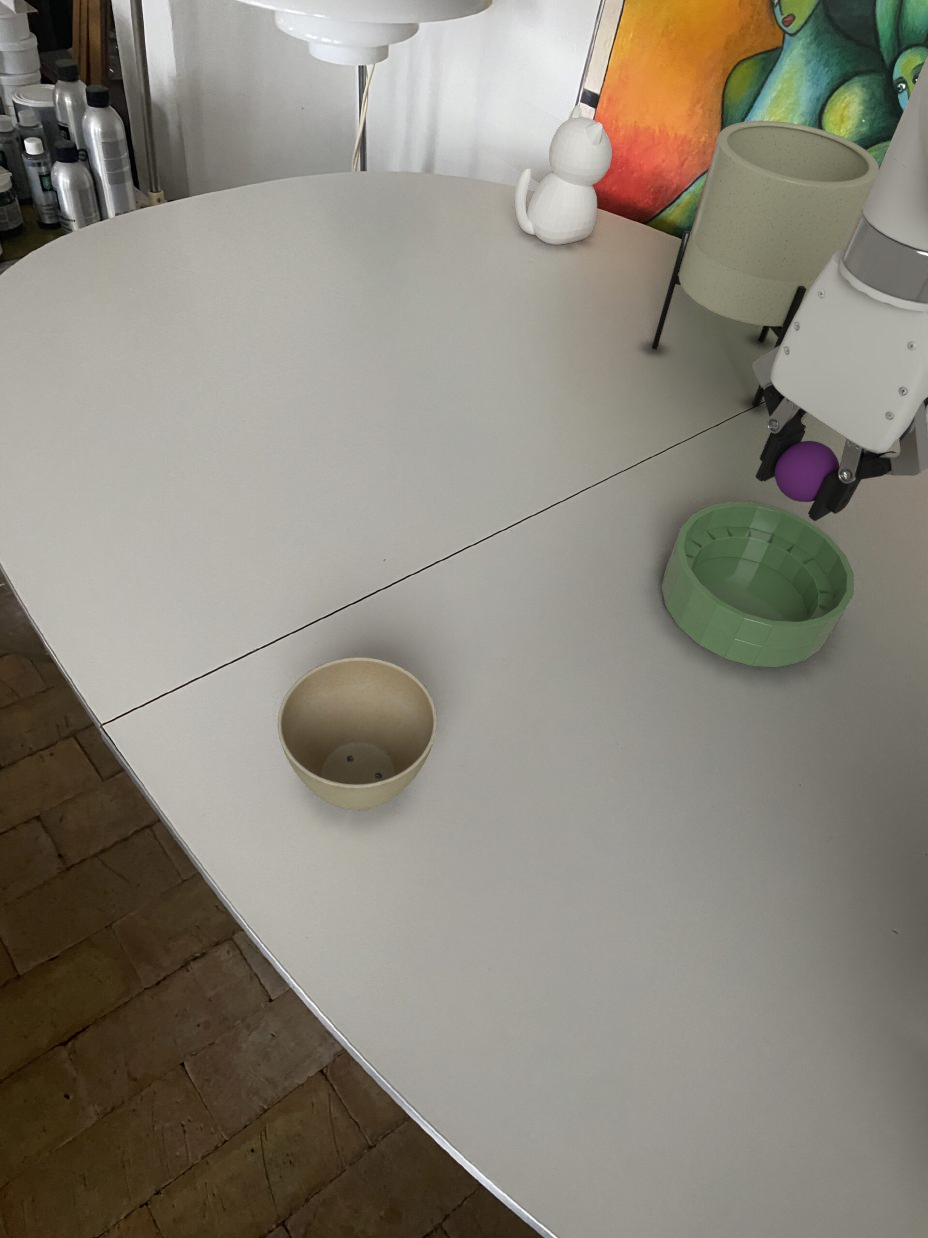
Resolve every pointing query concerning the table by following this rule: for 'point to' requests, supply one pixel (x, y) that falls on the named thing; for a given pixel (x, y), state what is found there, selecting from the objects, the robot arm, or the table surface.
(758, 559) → the bowl
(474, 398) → the table surface
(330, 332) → the table surface
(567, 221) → the cat figurine
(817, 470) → the ball
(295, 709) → the flower pot
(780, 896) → the table surface
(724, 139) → the planter
